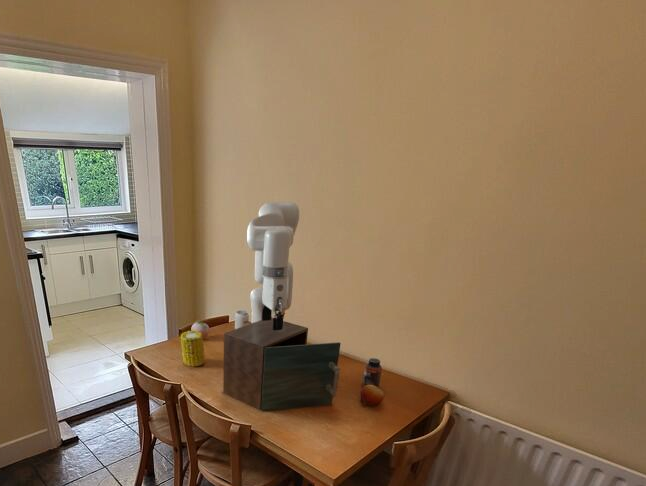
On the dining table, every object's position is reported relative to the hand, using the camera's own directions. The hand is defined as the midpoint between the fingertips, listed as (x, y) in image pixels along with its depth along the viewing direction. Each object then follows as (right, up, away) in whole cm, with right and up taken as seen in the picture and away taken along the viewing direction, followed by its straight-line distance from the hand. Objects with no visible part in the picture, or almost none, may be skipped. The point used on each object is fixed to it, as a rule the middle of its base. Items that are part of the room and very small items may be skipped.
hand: (271, 324), depth 133 cm
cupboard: (+1, -22, +25) cm, 34 cm away
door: (+11, -29, +10) cm, 33 cm away
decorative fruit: (-25, 0, +74) cm, 78 cm away
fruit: (+38, -27, +15) cm, 49 cm away
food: (-27, -12, +48) cm, 56 cm away
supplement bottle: (+42, -21, +27) cm, 55 cm away
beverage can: (-3, +3, +80) cm, 80 cm away
